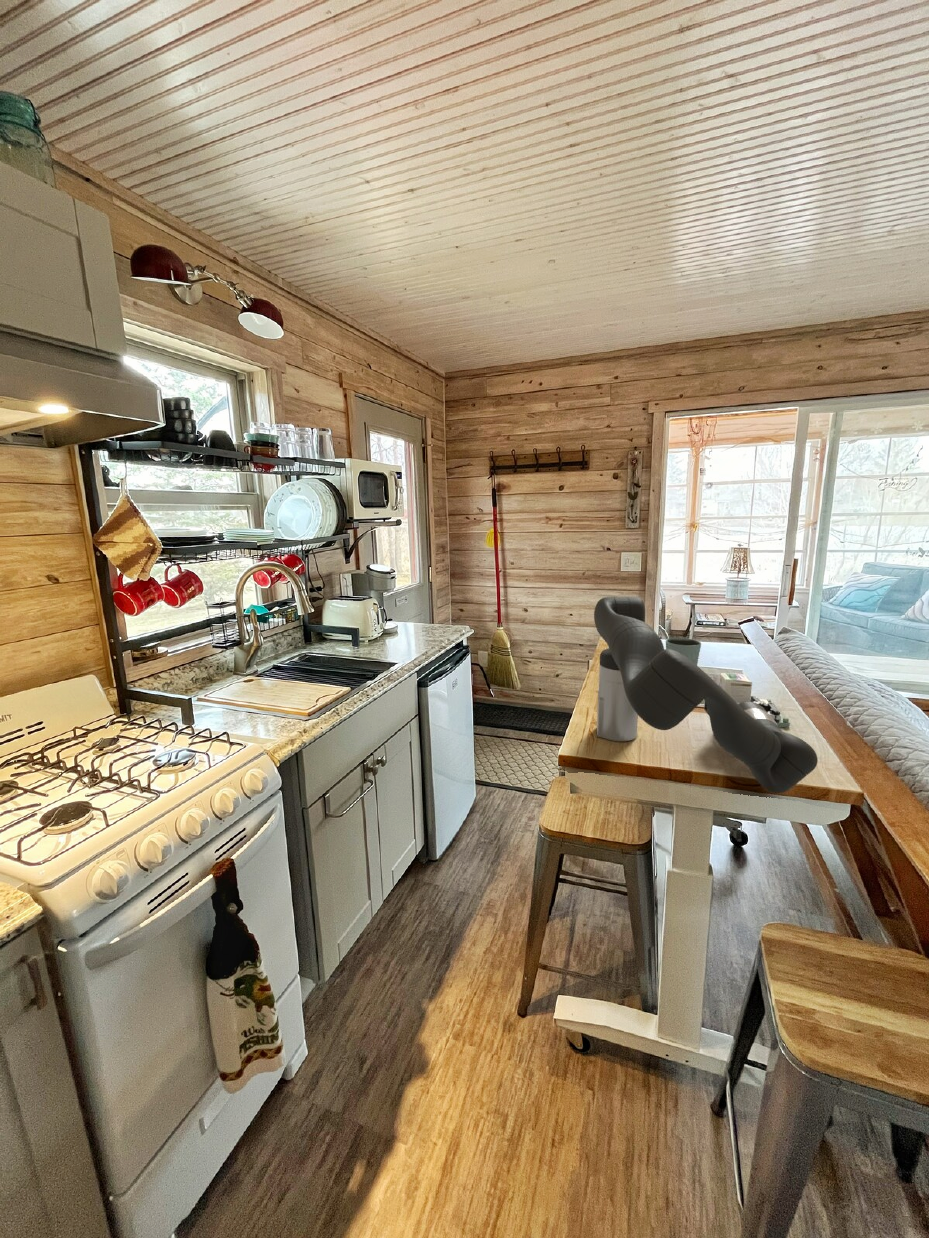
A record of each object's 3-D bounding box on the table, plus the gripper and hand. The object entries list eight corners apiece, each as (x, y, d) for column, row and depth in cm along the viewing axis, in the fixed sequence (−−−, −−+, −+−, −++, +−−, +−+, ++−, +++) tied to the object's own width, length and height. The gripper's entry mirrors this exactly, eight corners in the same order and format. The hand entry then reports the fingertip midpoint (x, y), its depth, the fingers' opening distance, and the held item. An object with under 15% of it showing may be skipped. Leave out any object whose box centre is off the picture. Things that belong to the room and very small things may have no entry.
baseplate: (726, 723, 130) (727, 714, 130) (713, 703, 143) (714, 694, 143) (789, 727, 127) (790, 718, 126) (769, 706, 140) (770, 698, 140)
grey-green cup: (657, 678, 165) (659, 641, 162) (672, 671, 172) (675, 635, 169) (689, 685, 158) (692, 647, 155) (703, 678, 164) (706, 641, 162)
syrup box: (713, 729, 127) (718, 672, 124) (739, 730, 126) (745, 673, 123) (719, 739, 121) (724, 679, 118) (747, 741, 120) (753, 681, 117)
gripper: (714, 740, 109) (698, 711, 125) (790, 746, 106) (764, 715, 122) (718, 706, 108) (701, 681, 123) (794, 711, 105) (767, 685, 120)
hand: (732, 698), depth 123 cm, fingers open, 8 cm apart
